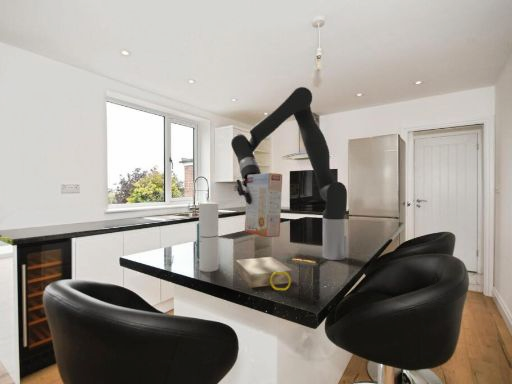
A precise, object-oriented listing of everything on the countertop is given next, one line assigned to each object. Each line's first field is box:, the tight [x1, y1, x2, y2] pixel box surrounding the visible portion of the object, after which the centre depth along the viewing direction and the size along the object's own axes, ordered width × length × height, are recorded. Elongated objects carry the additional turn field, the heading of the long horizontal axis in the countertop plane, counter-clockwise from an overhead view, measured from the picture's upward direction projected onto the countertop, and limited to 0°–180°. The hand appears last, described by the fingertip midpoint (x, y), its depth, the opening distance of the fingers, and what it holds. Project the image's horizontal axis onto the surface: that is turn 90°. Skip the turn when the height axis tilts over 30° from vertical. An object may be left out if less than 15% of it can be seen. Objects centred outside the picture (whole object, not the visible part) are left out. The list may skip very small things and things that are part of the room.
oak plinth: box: [235, 256, 293, 288], centre depth 93 cm, size 14×18×4 cm
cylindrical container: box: [198, 202, 220, 273], centre depth 102 cm, size 7×7×25 cm
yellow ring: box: [270, 269, 291, 291], centre depth 81 cm, size 6×3×6 cm, turn 80°
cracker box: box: [244, 172, 283, 238], centre depth 93 cm, size 14×6×21 cm, turn 32°
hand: (259, 202), depth 95 cm, fingers closed on cracker box, 6 cm apart
